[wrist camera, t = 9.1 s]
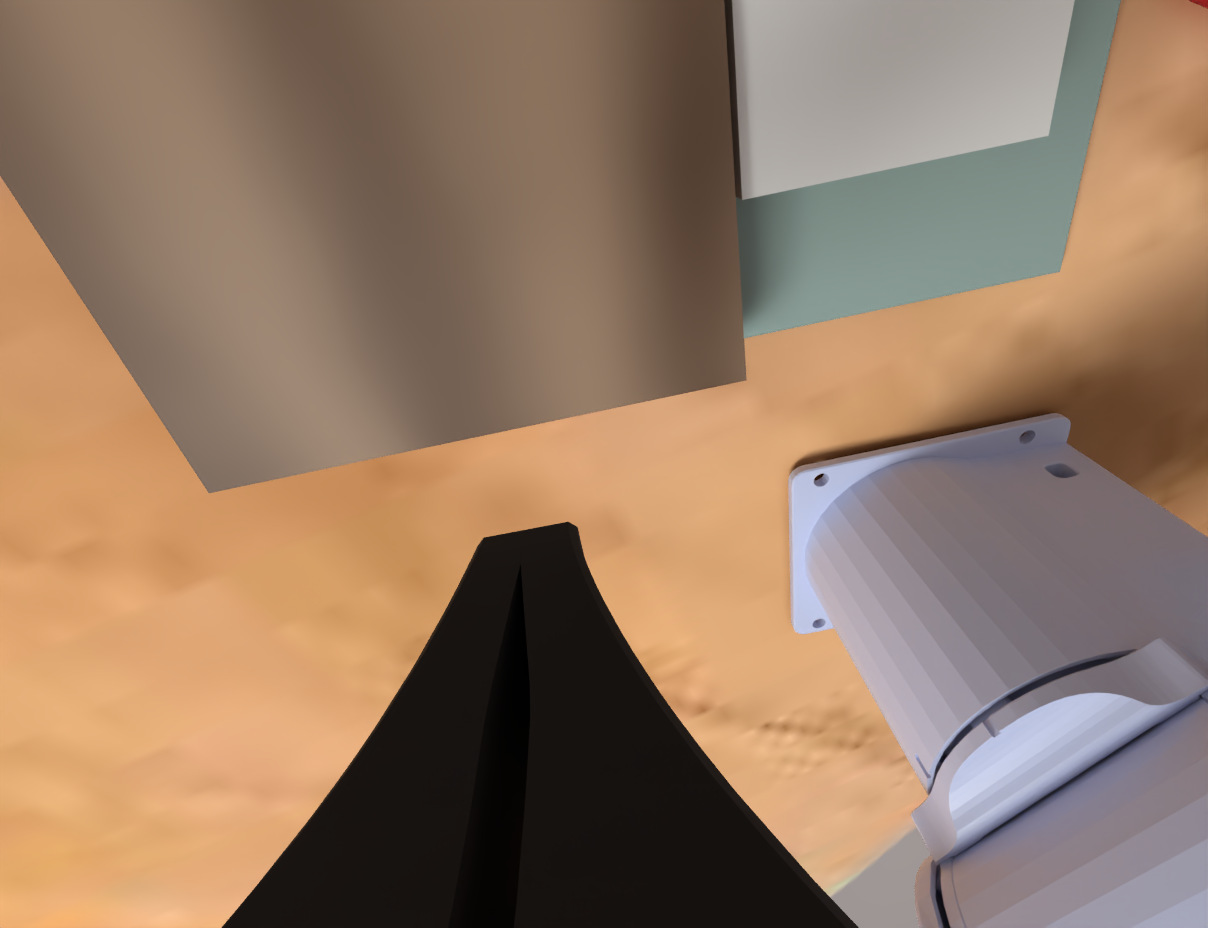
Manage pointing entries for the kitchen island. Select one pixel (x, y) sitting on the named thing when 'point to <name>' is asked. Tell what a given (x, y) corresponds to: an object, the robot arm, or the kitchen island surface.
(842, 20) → the tile
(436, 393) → the board
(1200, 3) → the tracker holder
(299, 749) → the kitchen island surface
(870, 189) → the mat
